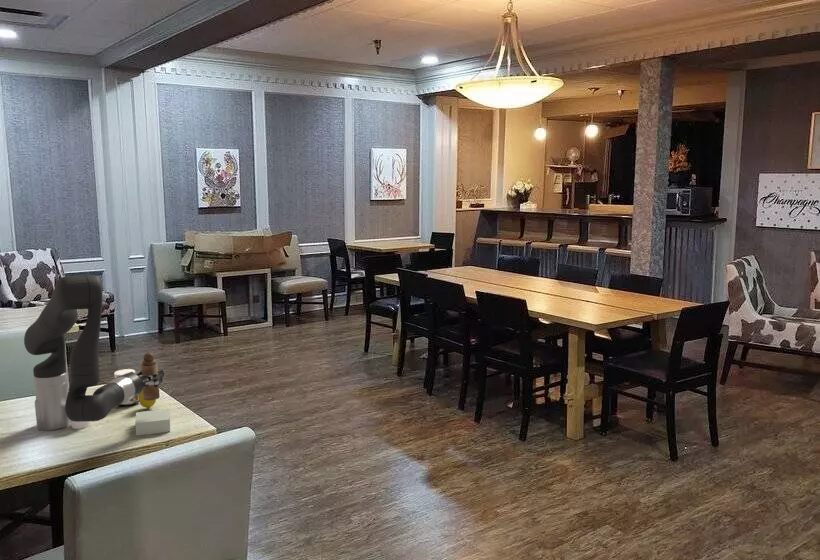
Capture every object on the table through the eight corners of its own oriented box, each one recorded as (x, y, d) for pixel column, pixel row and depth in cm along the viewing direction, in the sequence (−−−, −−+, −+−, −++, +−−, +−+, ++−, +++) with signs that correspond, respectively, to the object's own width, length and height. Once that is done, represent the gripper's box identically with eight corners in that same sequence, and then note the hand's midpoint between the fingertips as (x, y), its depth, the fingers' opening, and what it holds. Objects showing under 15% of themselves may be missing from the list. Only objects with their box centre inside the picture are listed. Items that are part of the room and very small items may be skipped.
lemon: (145, 412, 228) (143, 390, 227) (136, 409, 232) (134, 387, 230) (160, 408, 233) (158, 386, 231) (151, 404, 236) (149, 382, 235)
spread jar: (115, 410, 231) (113, 377, 229) (104, 401, 239) (102, 370, 237) (150, 402, 239) (148, 370, 237) (139, 394, 247) (136, 363, 245)
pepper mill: (143, 401, 210) (140, 355, 208) (143, 396, 215) (140, 351, 212) (159, 399, 212) (156, 353, 210) (159, 394, 216) (156, 350, 214)
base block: (136, 435, 209) (135, 423, 208) (137, 424, 218) (136, 412, 217) (170, 431, 212) (169, 419, 212) (170, 420, 221) (169, 408, 221)
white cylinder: (88, 419, 222) (86, 399, 221) (96, 425, 217) (94, 404, 216) (66, 425, 217) (64, 404, 216) (73, 431, 212) (71, 410, 211)
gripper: (144, 378, 196) (174, 362, 213) (100, 375, 199) (133, 359, 215) (146, 402, 198) (176, 385, 214) (102, 399, 200) (135, 382, 217)
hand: (154, 372), depth 215 cm, fingers closed on pepper mill, 4 cm apart
